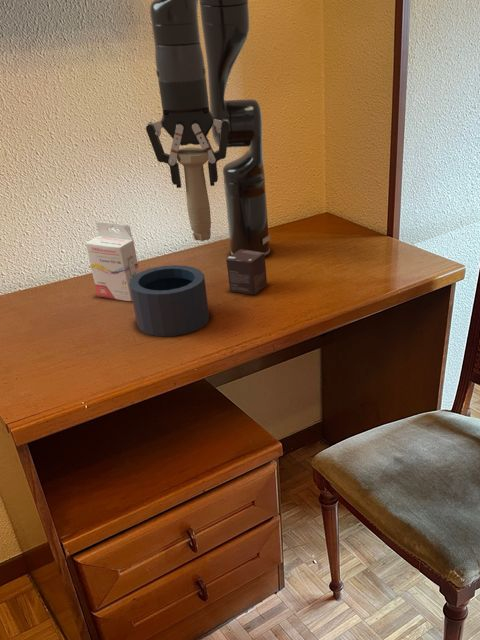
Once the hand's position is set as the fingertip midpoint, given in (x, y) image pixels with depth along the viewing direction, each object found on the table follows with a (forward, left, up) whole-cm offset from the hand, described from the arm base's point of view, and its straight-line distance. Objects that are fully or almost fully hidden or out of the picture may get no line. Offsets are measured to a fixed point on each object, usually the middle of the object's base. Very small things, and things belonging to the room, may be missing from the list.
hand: (195, 185), depth 114 cm
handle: (0, 0, -10) cm, 10 cm away
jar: (0, -8, -25) cm, 27 cm away
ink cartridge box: (-14, -20, -26) cm, 35 cm away
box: (-13, +7, -26) cm, 30 cm away
